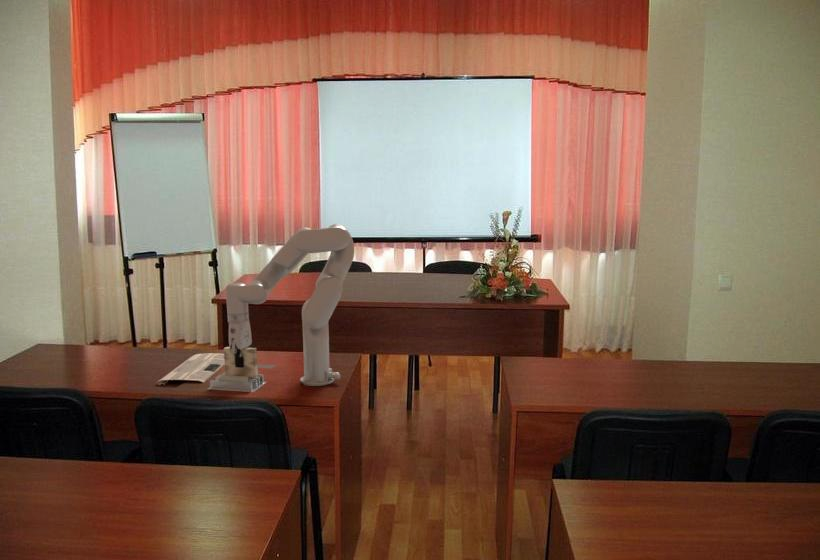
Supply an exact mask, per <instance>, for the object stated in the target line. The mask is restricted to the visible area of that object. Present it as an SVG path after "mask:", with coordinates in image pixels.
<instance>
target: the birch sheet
mask: <svg viewBox="0 0 820 560" xmlns="http://www.w3.org/2000/svg"><path fill="white" fill-rule="evenodd" d="M236 348H237V347H236ZM257 349H258V348H257V347H247V348H244V349H243V350H242V357H243V358H244V367H243V368H240V367H235V357H234V354H232V353H231V350H232V349H230V347H229V346H226V347H224V348H223V354H224V360H225V366H224V371H225V375H228V376H245V377H258V374H259V368H258V365H259V364H258V351H257Z"/></svg>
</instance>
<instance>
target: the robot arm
mask: <svg viewBox="0 0 820 560" xmlns="http://www.w3.org/2000/svg"><path fill="white" fill-rule="evenodd" d="M327 252H330V253H329V256H328V259H327V261H326V263H325V265H324V267H323V269H322V271H321V272H320V275H319V276H318V278H317V279H316V281H315V288H314V290H313V293H312V294H311V296H310V298H309V299H307V300H306V301H305V302H304V303H303V305H302V307H301V320H302V322H301V323H302V347H303V348H302V349H303V376H301V377H300V378H299V379H300V381H299V382H300V384H302V385H304V386H309V387H322V386H327V385H330V384H333V383H334V382H335V380H340V379H341V374H340V372H339V371H338V372H337V371H336V372H335V371H333V368H331V367H330V343H329V342H330V336H329V335H330V332H329V320H331V317H332V315H333V313H334V311H335V309H336V308H337V306H338V304H339V301H340V299H341V297H342V294H343V287H344V286H343V283H344V281H345V279H346V277H347V274H348V273H349V270H350V269H351V266H352V263H353V262H354V257H355V244H354V240H353V238H352V236H351V233H350V232H349V230H348V229H347V228H346V227H345V226H344V225H342V224H340V223H334V224H332V225H330V226H328V227H322V228H309V227H305V226H303V227H301V228H298V230H296V231H295V233H294V234H293V235H292V236H291V237H290V238H289V239H288V240H287V241H286V243H284V244H283V246H282V247H281V248H280V249H279V250H278V251H277V253H276V254H275V255H274V256H273V257H272V258H271V260H270V261H269V262H268V264H267V265H265V267H263V269H262V270H261V271H260V272H259V273H258V274H257V276H255V278H254V279H253V280H252V281H250V282H251V283H250V284H247V285H246V284H245V283H243V282H233V283H229V284H227V285H226V286H225V298H226V311H227V312H226V313H227V315H226V316H227V323H228V345H229V346H228V347H230V349H232V350H231V353H232V354H234V357H235V367H240V368H243V367H244V358H243V357H242V350H243V349H244V348H249V347H250V346H251V345H252V342H253V339H252V329H251V323H250V317H249V316H250V313H249V304H252V305H253V304H254V305H261V304H263V303H265V302H266V301H267V299H268V298H269V293H271V291H272V290H273V288H274V289H275V287H276V285H278V283H280V281H281V280H283V278H284V277H286V276H287V275H289V274H292V272H294V270H295V269H296V268H297V267H298V266H299V265H300V264H301V262H302V261H303V260H304V259H305V258H306V256H307V255H308V254H318V253H327ZM236 347H237V348H236Z"/></svg>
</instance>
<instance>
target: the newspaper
mask: <svg viewBox="0 0 820 560" xmlns="http://www.w3.org/2000/svg"><path fill="white" fill-rule="evenodd" d="M222 367H225V360H224V353H213V352H210V353H205V352H204V353H196V354H194V355H191V356H190V357H189V358H188V359H186V360H184V362H182V363H181V364H179V365H178V366H177V367H175V368H174V369H173V370H171V371H170V372H169V373H167V374H166V375H165V376H163V377H162V378H161V379H159V380H158V381H157V382H156V383H157V384H156V385H158V386H160V385H161V384H163V385H166V384H167V383H166V382H167V381H169V380H170V381H194V382H199V383H200V382H201V383H203V384H205V382H206V381H207V380H208V379H210V378H211V377H212V376H213V375H214V374H215V373H217V372H218V371H219V370H220V369H221V368H222ZM170 381H169V382H170ZM165 383H166V384H165Z"/></svg>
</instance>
